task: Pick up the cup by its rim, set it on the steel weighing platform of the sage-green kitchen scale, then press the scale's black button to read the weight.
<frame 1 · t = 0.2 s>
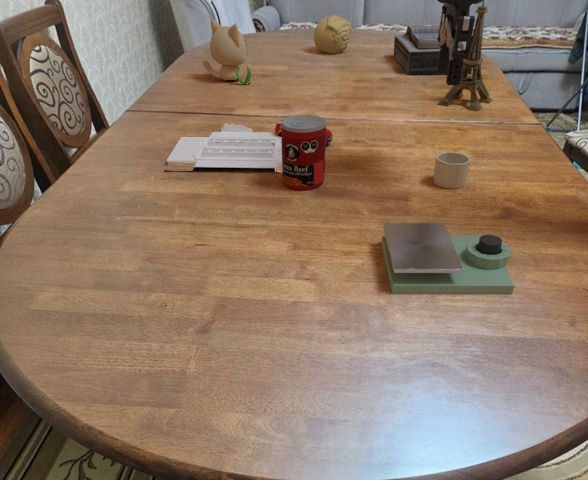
hand: (447, 78, 96), 16 cm above the table, tool pointing down, fingers open, 8 cm apart
platform: (420, 246, 76), on the scale, point 3 cm above the table
sculpture: (331, 52, 185), on the table
race car: (303, 140, 118), on the table, touching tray
cup: (449, 182, 101), on the table
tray: (241, 154, 114), on the table, touching race car
eiffel tower: (465, 103, 139), on the table
scale: (442, 266, 78), on the table
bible: (430, 65, 170), on the table
kitten: (232, 81, 158), on the table
tare button: (489, 245, 76), point 4 cm above the table, slide at 0.1 cm
canned food: (303, 183, 102), on the table
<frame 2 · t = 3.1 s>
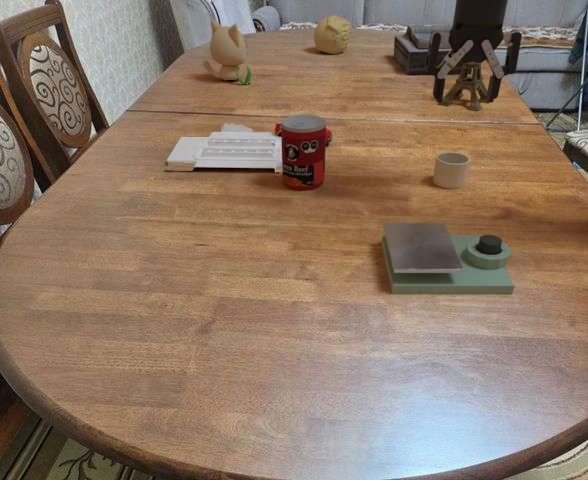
hand: (464, 101, 92), 14 cm above the table, tool pointing down, fingers open, 8 cm apart
nothing on the table moved.
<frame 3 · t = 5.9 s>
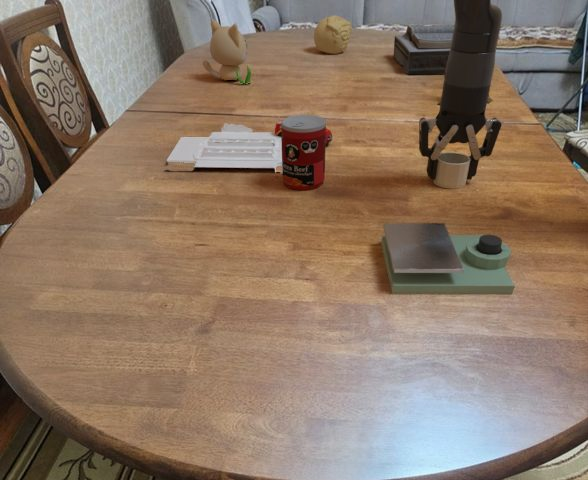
hand: (450, 177, 101), 1 cm above the table, tool pointing down, fingers closed on cup, 6 cm apart
cup: (449, 182, 101), on the table, touching gripper
everything else where it was.
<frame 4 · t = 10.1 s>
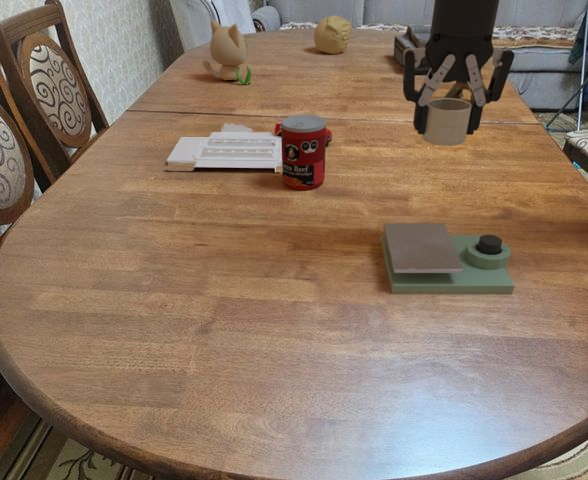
hand: (444, 132, 75), 16 cm above the table, tool pointing down, fingers closed on cup, 6 cm apart
cup: (443, 138, 76), point 15 cm above the table, touching gripper
everything else where it was.
when the fingers open (4 cm above the table, at t = 14.7 s): cup stays where it is, resting on platform.
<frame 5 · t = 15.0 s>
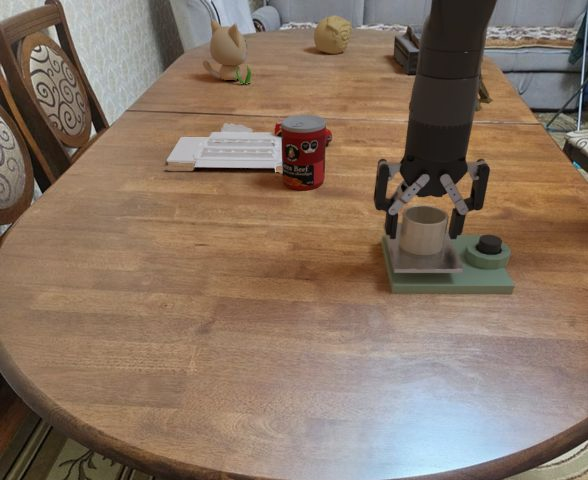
hand: (422, 236, 75), 5 cm above the table, tool pointing down, fingers open, 8 cm apart
cup: (420, 244, 76), point 4 cm above the table, touching platform
everything else where it was.
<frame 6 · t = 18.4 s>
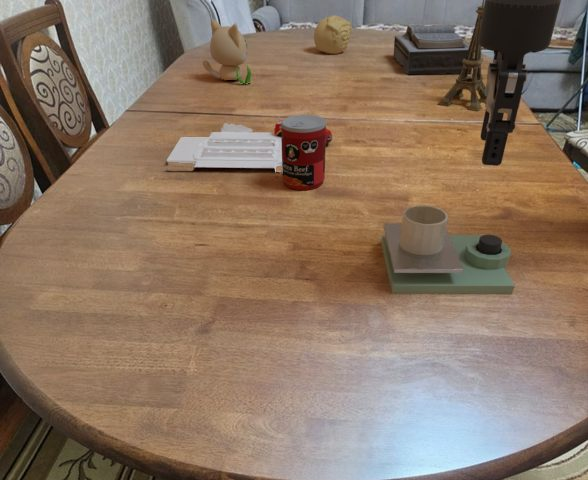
hand: (489, 151, 67), 17 cm above the table, tool pointing down, fingers open, 8 cm apart
nothing on the table moved.
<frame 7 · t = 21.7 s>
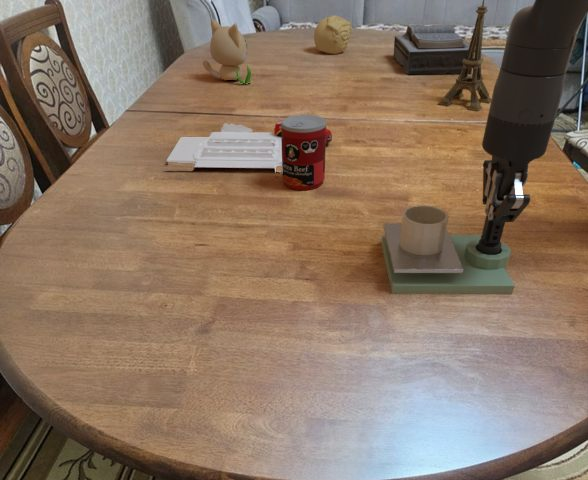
hand: (489, 242, 76), 4 cm above the table, tool pointing down, fingers closed
tare button: (488, 247, 76), point 3 cm above the table, slide at -0.3 cm, touching gripper
everything else where it was.
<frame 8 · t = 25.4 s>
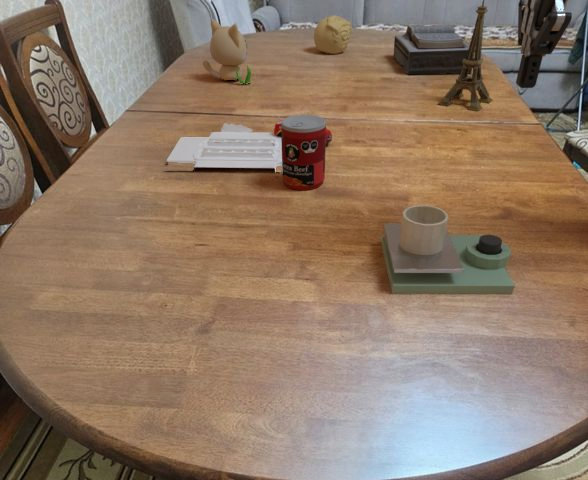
hand: (524, 86, 74), 21 cm above the table, tool pointing down, fingers closed
tare button: (489, 245, 76), point 4 cm above the table, slide at 0.1 cm
everything else where it was.
at the end: cup 0.0 cm from the target spot on the scale, point 3.6 cm above the scale's base; tare button pushed in 0.9 cm at the most during the clip, back to where it started at the end; tare button slide at 0.1 cm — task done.
